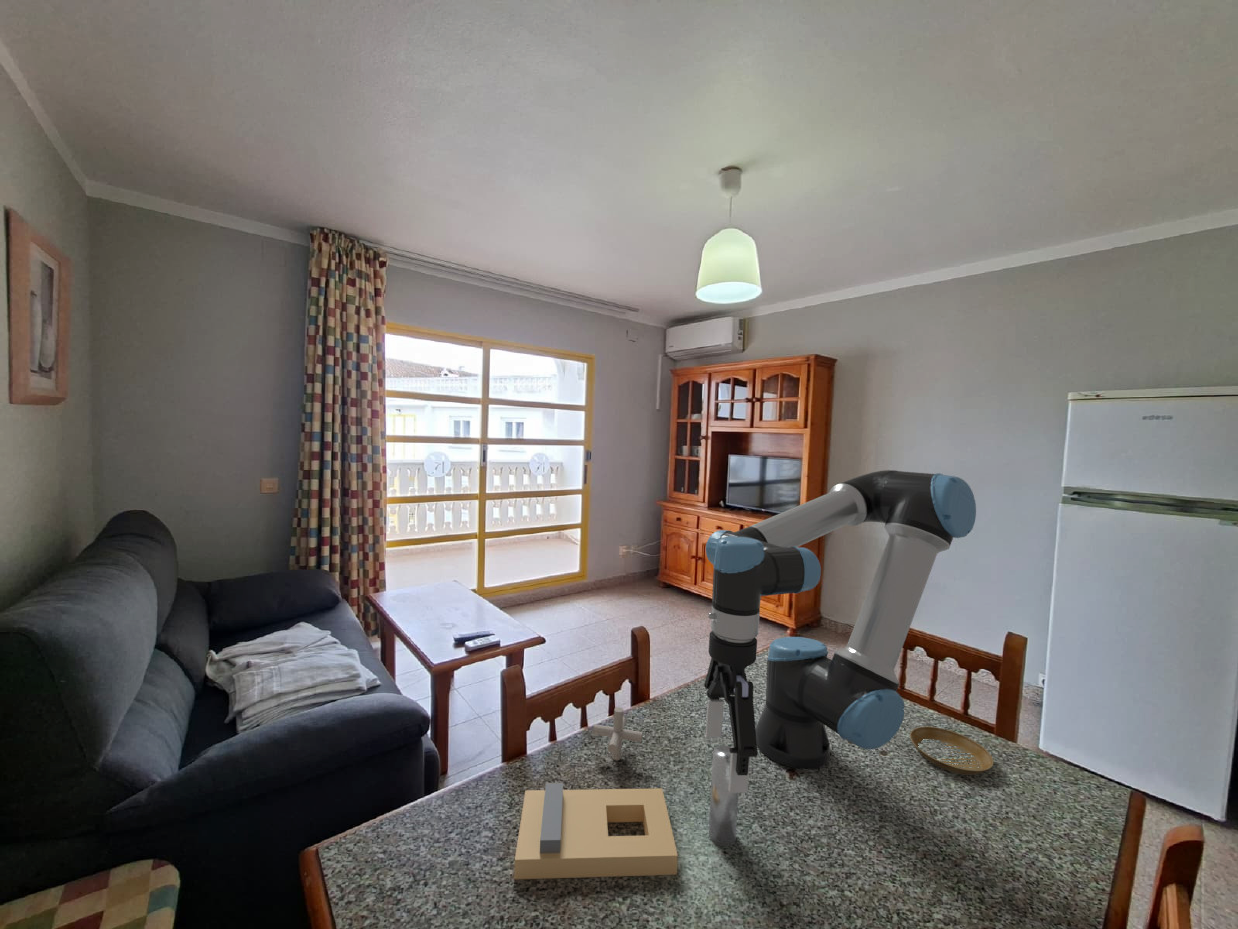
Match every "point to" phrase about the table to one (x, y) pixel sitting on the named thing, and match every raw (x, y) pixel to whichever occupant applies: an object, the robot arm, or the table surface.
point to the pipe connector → (617, 733)
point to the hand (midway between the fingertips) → (724, 761)
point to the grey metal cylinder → (722, 800)
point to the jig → (593, 834)
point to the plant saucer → (961, 743)
